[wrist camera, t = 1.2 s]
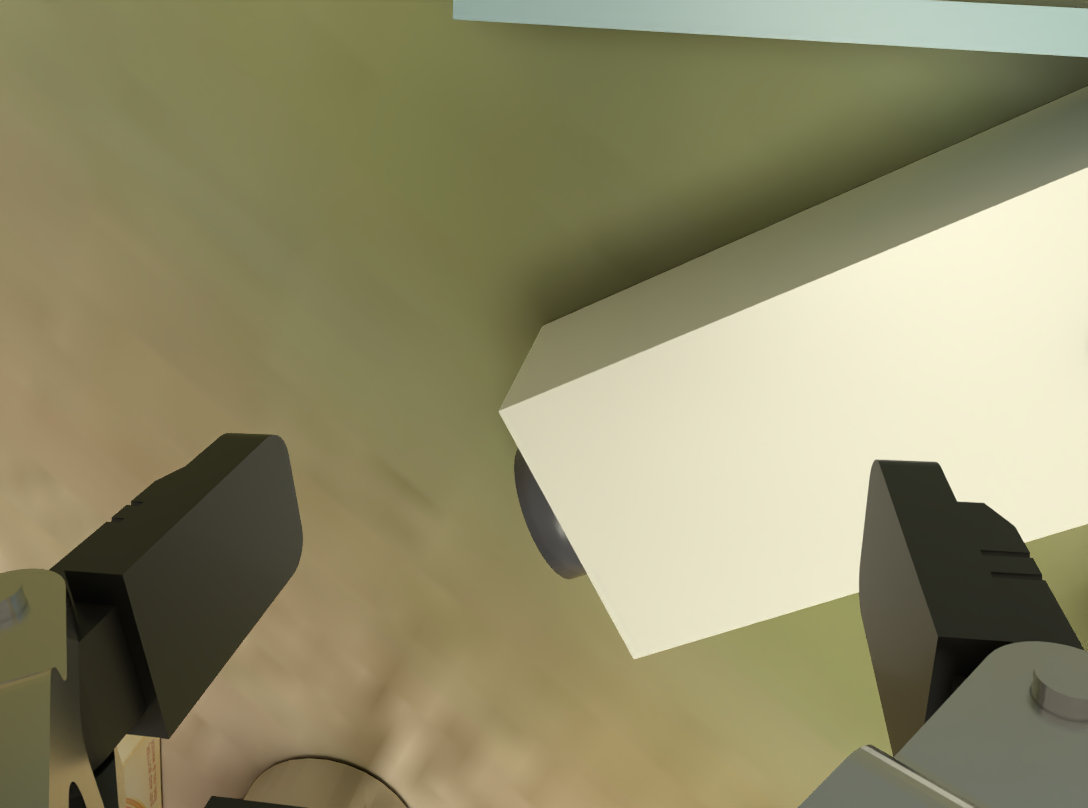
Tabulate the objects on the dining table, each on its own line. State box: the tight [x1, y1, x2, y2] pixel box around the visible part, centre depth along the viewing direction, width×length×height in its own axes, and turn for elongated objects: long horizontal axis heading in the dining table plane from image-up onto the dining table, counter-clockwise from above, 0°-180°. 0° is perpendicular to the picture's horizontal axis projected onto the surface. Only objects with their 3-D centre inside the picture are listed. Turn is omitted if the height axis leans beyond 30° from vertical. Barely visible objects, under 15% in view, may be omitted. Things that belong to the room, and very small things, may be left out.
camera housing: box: [498, 86, 1088, 659], centre depth 28 cm, size 22×9×9 cm, turn 117°
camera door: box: [453, 0, 1088, 57], centre depth 24 cm, size 19×1×7 cm, turn 87°
